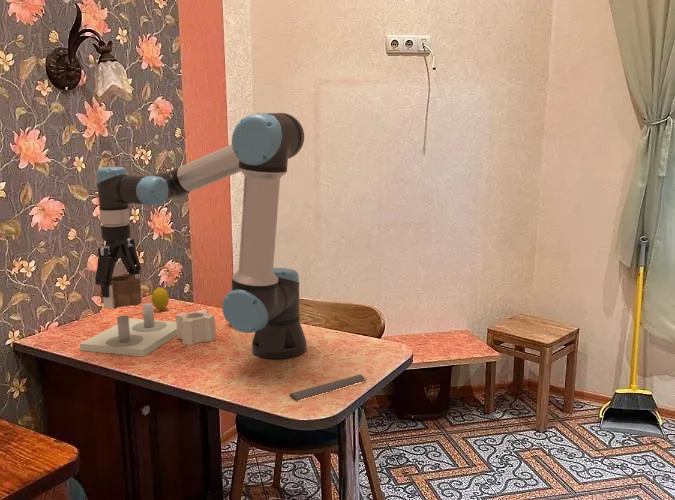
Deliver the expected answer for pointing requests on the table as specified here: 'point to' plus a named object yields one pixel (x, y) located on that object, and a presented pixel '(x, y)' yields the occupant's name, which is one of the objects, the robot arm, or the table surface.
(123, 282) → the walnut gear
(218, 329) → the table surface
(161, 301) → the lemon
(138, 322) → the board
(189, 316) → the cream gear
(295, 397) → the gray half cylinder
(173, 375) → the table surface
